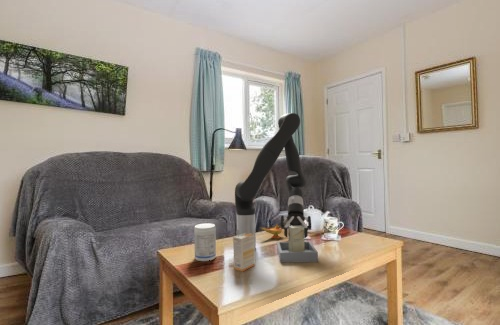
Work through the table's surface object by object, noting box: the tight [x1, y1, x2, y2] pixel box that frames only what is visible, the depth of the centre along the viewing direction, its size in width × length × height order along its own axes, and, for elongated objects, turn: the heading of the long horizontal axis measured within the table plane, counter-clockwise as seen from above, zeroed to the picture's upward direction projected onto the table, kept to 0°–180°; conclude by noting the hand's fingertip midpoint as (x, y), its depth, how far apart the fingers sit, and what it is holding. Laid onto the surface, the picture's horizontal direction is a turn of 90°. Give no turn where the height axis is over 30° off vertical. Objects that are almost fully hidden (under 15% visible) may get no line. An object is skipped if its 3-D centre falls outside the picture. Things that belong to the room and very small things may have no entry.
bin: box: [276, 240, 319, 263], centre depth 122 cm, size 16×16×4 cm
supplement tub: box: [193, 222, 217, 262], centre depth 121 cm, size 10×10×15 cm
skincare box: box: [287, 225, 305, 252], centre depth 123 cm, size 6×4×12 cm
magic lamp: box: [258, 220, 287, 239], centre depth 153 cm, size 7×18×11 cm, turn 117°
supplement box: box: [232, 233, 256, 272], centre depth 110 cm, size 8×5×13 cm, turn 141°
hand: (295, 236), depth 121 cm, fingers open, 8 cm apart
